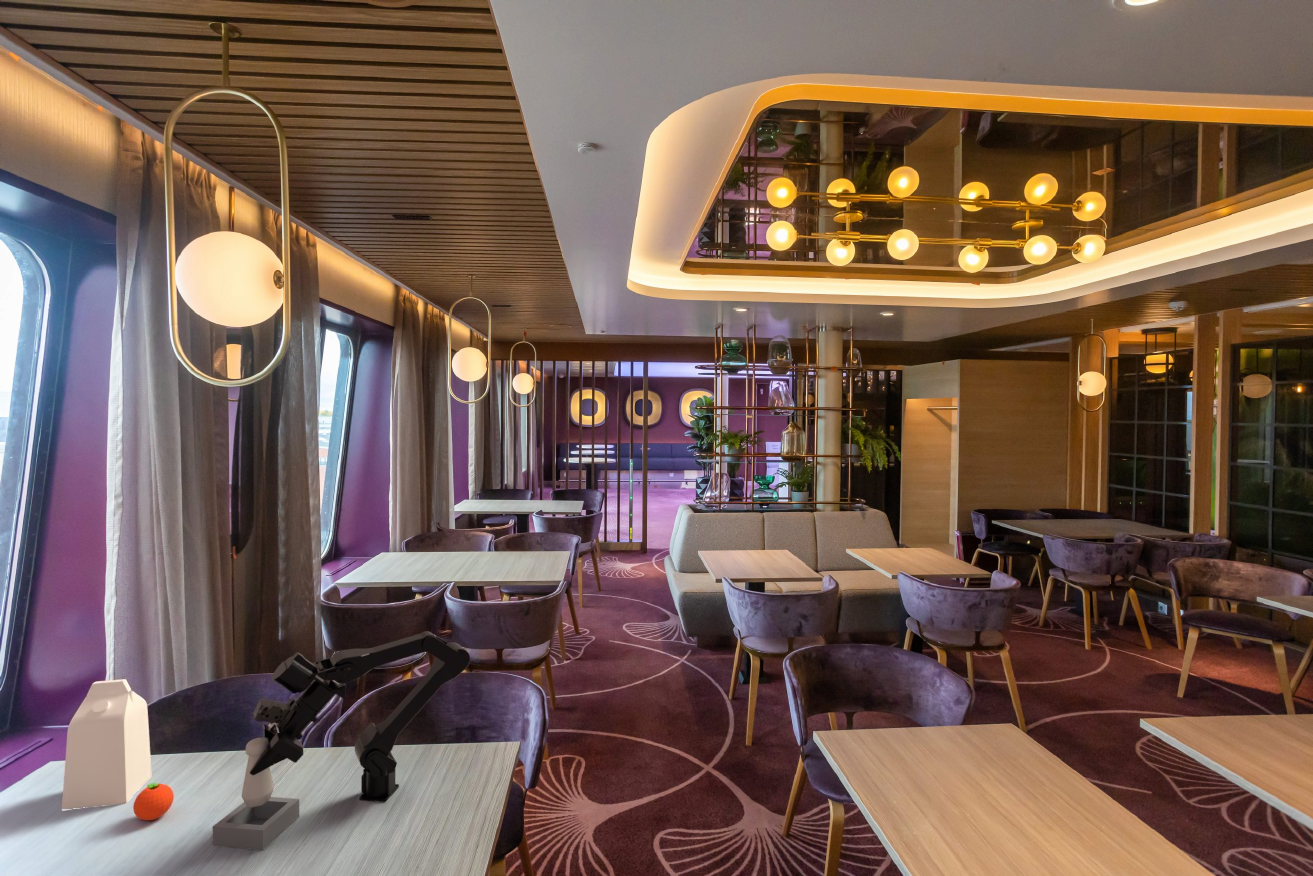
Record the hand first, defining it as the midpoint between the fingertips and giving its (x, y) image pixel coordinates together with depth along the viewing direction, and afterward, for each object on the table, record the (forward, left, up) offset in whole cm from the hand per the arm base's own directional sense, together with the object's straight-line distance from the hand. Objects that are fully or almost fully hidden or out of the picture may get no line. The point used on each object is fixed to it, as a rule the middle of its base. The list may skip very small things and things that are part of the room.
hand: (250, 770), depth 132 cm
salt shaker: (-1, -1, -7) cm, 7 cm away
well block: (-1, -1, -13) cm, 13 cm away
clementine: (+25, -3, -14) cm, 29 cm away
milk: (+43, -10, -14) cm, 46 cm away
